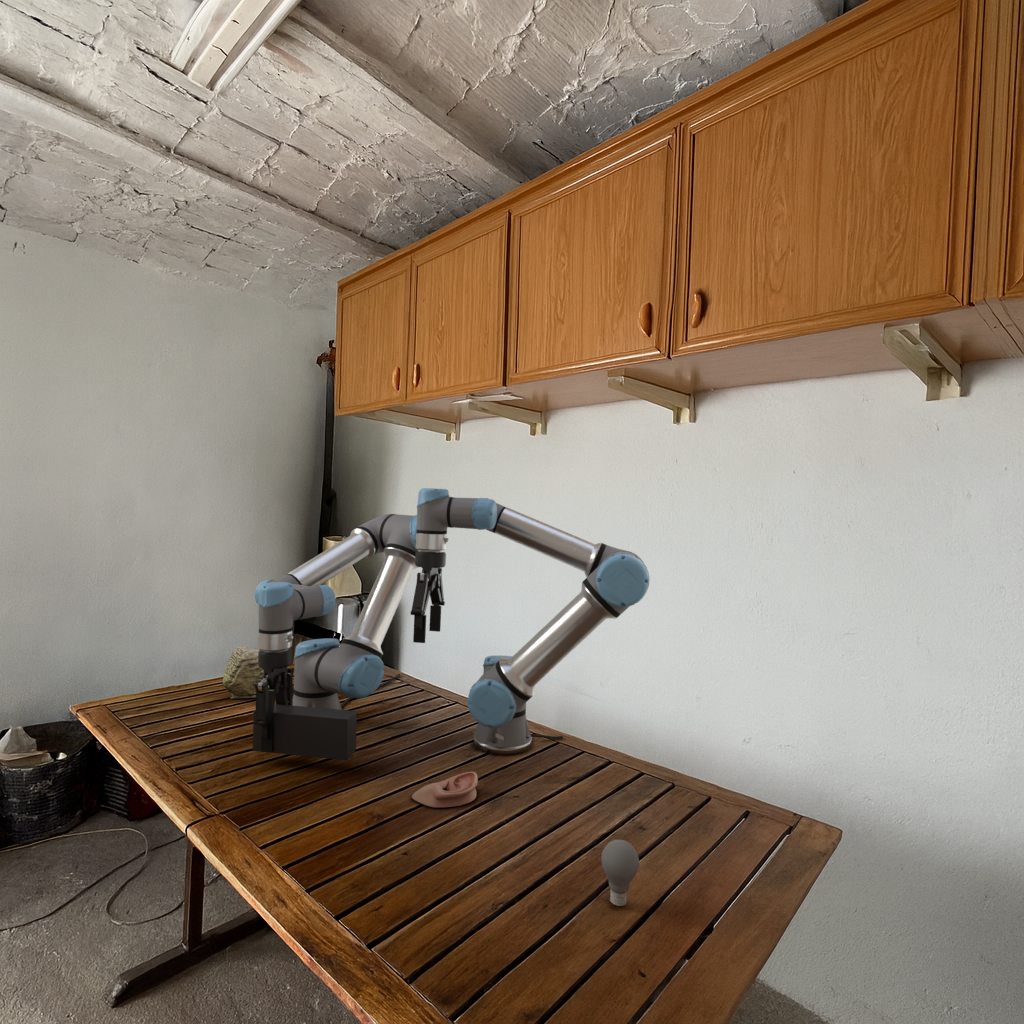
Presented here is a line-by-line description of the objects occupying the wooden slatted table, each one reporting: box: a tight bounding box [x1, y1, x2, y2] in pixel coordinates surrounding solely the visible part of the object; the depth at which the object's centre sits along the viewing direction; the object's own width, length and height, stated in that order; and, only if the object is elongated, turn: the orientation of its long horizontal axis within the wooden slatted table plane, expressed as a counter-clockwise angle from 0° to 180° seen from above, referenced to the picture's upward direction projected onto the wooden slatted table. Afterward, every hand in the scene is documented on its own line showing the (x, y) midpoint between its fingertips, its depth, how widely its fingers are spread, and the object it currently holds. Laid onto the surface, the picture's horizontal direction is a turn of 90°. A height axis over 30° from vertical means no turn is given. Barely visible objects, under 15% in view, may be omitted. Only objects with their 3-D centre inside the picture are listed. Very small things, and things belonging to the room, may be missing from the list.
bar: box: [252, 703, 358, 761], centre depth 149 cm, size 23×5×10 cm, turn 81°
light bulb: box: [600, 839, 640, 907], centre depth 102 cm, size 6×6×10 cm
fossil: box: [222, 646, 274, 699], centre depth 198 cm, size 9×18×15 cm, turn 132°
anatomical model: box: [411, 771, 479, 809], centre depth 136 cm, size 13×4×12 cm
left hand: (274, 745), depth 150 cm, fingers closed on bar, 5 cm apart
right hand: (427, 636), depth 156 cm, fingers open, 13 cm apart
